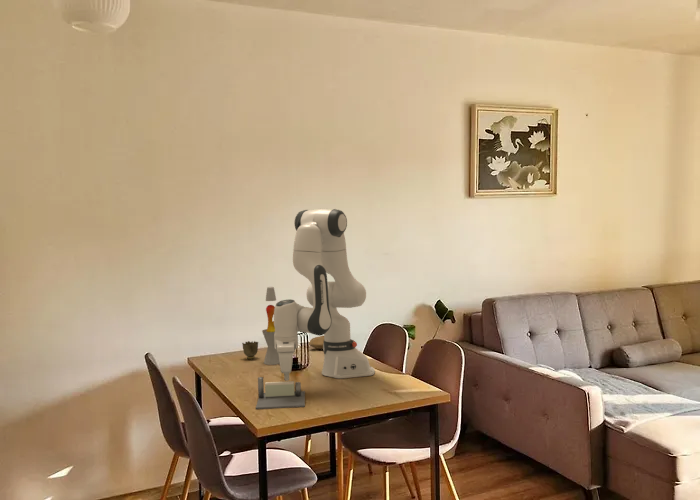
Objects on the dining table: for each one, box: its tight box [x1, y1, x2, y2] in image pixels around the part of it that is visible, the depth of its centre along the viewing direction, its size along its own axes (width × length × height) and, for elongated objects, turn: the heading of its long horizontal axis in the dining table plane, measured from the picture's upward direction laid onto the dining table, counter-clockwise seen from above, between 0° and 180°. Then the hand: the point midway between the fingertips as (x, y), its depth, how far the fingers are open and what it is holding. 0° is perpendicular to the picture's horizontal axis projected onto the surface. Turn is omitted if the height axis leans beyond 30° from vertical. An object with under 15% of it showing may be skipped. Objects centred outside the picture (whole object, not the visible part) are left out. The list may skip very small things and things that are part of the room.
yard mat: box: [255, 390, 306, 410], centre depth 226 cm, size 17×18×1 cm
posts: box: [257, 376, 302, 398], centre depth 229 cm, size 16×2×8 cm, turn 94°
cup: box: [241, 340, 259, 361], centre depth 295 cm, size 8×7×8 cm
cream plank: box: [264, 380, 295, 397], centre depth 229 cm, size 11×1×5 cm, turn 94°
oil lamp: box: [308, 335, 324, 350], centre depth 313 cm, size 11×15×8 cm
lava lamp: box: [261, 286, 280, 366], centre depth 286 cm, size 9×9×35 cm
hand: (286, 379), depth 234 cm, fingers closed
